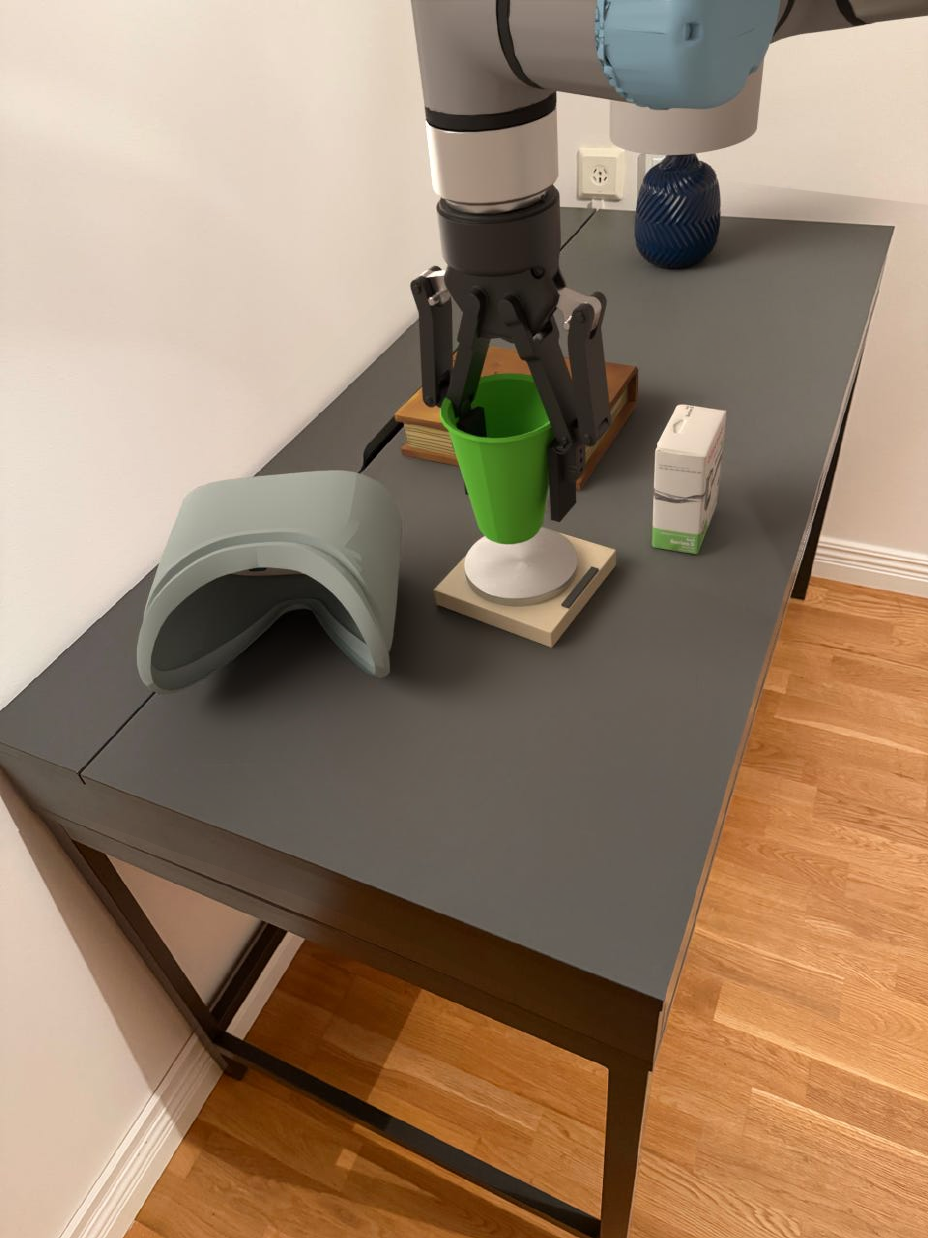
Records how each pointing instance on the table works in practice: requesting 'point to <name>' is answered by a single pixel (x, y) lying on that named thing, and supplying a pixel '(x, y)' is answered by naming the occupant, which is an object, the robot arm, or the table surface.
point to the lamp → (682, 171)
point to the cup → (505, 457)
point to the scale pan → (522, 569)
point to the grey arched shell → (272, 572)
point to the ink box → (687, 477)
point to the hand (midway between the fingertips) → (520, 498)
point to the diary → (425, 423)
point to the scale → (537, 619)
